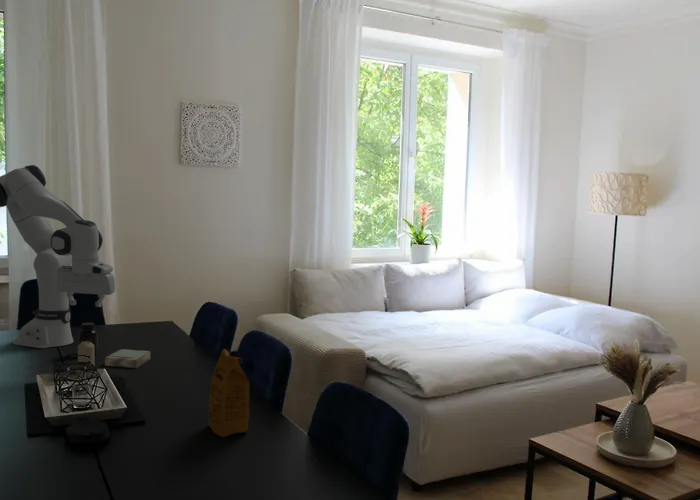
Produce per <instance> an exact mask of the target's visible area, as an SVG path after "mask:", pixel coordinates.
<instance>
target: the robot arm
mask: <svg viewBox="0 0 700 500" xmlns="http://www.w3.org/2000/svg"><path fill="white" fill-rule="evenodd" d="M46 185H47V179H46V177H45V174H44V172H43V170H41V169H40V168H39V167H38V166H37V165H35V164H30V165H25V166H23V167H21V168H15V169H13V170H11V171H8V172H7V173H5V174H3V175H1V176H0V208H3V207H6V208H7V210H8V214H9V215H10V217H11V219H12V221H13V224H15V225H14V226H15V227H16V228H17V230H18V232H19V234H20V235H21V237H22V238H23V240H24V242H25V243H26V245H28V246H29V247H30V248H31V249H32V250H33V252H34V253H36V256H35V257H34V260H33V269H34V271H35V277H36V282H37V287H38V308H37V309H35V310H33V311H32V314H33V315H34V318H32V319H31V320H29V321H28V322H27V323H26V324H25V325H23V326H22V327H21V328H20V329H19V330H20V331H19V336H18V337H17V338H15V339H14V340H12V341H13V342H12V345H16V346H22V347H23V346H24V347H30V348H37V349H47V348H52V347H53V348H54V347H62V346H66V345H71V344H72V343H74V338H73V336H72V335H73V334H72V331H71V307H70V306H76V305H77V299H74V296H73V295H74V294H85V295H97V298H99V299H98V300H96V301H95V302H94V304H95V305H94V306H95V308H101V307H102V302H103V300H104V299H105V296H110V295H113V294H114V292H115V291H116V283H115V276H114V274H113V273H112V272H114V271H113V270H114V267H113V266H112V265H109V264H107V263H104V262H102V261H100V255H99V251H100V249H101V248H102V245H103V241H104V240H103V236H102V233H101V232H100V230H99V229H98V226H97V224H96V222H93V221H91V220H85V219H84V218H82V216H81V215H80V214H78V213H77V212H76V211H75V210H74V209H73V208H72V207H71V206H69V205H68V204H67V203H66V202H65V201H63V200H62V199H60V198H58V196H55V194H53V193H52V192H51V191H50V190H48V189H47V188H46ZM48 219H52V220H56V221H58V222H60V223H62V224H63V225H64V226H65V227H63V228H60V229H59V228H58V229H56V230H55V231H54V229H53V228H52V226H51V224H50V222H49V220H48Z"/></svg>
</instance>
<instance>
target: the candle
mask: <svg viewBox="0 0 700 500" xmlns="http://www.w3.org/2000/svg"><path fill="white" fill-rule="evenodd" d="M78 355H86V356H90V359H89V358H88V357H85V356H78ZM88 361H90V362H91V364H93V365H94V366H95V355H94V345H93V344H92V343H91V342H90V341H85V342H81V343H80V344H79V343H78V345H77V363H78V362H88Z"/></svg>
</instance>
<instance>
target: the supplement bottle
mask: <svg viewBox="0 0 700 500" xmlns="http://www.w3.org/2000/svg"><path fill="white" fill-rule="evenodd" d="M80 329H81V330H80V331H78V345H79V344H80V343H81V342H85V341H90V342H91V343H92V344H93V345H94V356H96V355H98V354H99V353H98V351H99V348H98V347H99V345H98V343H99V341H98V339H99V338H98V331H97V330H96V325H95V322H83V323H81V324H80Z"/></svg>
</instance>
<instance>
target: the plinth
mask: <svg viewBox="0 0 700 500" xmlns="http://www.w3.org/2000/svg"><path fill="white" fill-rule="evenodd" d="M150 360H151V350H136V349H126V348H125V349H123V348H120V349H118V350H115V352H112V353H110V354H109V355H107V356H105V357H104V366H105V367H107V366H109V367H118V368H119V367H121V368H132V369H133V368H134V369H137V368H139V367H141V366H143V365H144V364H145V363H147V362H148V361H150Z"/></svg>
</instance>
